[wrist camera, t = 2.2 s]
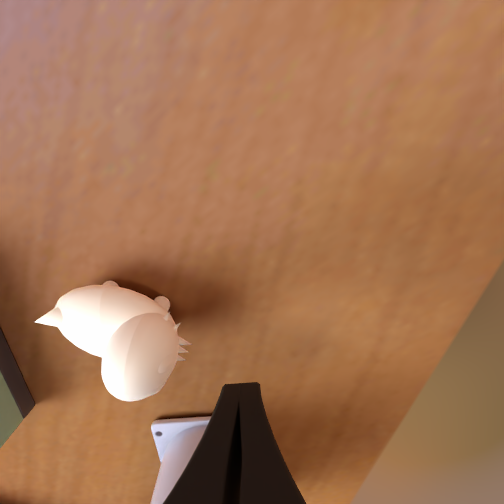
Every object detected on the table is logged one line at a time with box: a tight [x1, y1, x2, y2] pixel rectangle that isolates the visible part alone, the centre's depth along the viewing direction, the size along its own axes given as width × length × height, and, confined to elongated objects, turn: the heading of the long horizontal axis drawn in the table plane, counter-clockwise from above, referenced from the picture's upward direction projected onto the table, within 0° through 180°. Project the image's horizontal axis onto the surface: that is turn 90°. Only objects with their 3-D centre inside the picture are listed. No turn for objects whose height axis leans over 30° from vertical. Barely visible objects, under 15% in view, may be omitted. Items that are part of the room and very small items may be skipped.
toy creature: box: [35, 281, 192, 401], centre depth 16 cm, size 5×8×6 cm, turn 70°
